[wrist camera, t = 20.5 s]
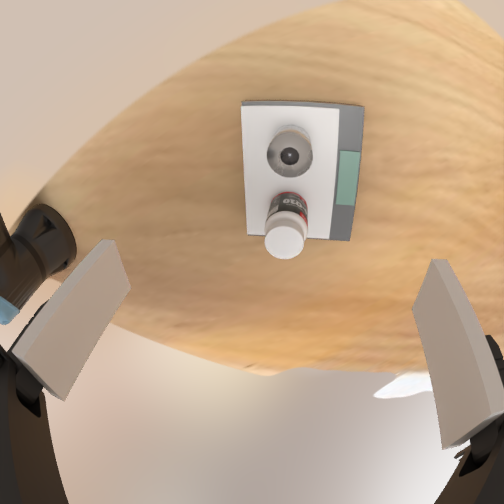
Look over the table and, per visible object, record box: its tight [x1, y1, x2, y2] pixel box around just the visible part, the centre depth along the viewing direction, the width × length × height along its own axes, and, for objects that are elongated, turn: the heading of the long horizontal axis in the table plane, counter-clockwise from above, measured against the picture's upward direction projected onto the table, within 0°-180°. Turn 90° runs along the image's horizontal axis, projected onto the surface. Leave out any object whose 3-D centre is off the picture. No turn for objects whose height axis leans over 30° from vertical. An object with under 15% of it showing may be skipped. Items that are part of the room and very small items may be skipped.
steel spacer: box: [267, 124, 313, 178], centre depth 28 cm, size 4×4×6 cm
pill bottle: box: [264, 191, 308, 259], centre depth 32 cm, size 5×5×8 cm
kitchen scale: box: [241, 100, 364, 241], centre depth 34 cm, size 14×18×3 cm
